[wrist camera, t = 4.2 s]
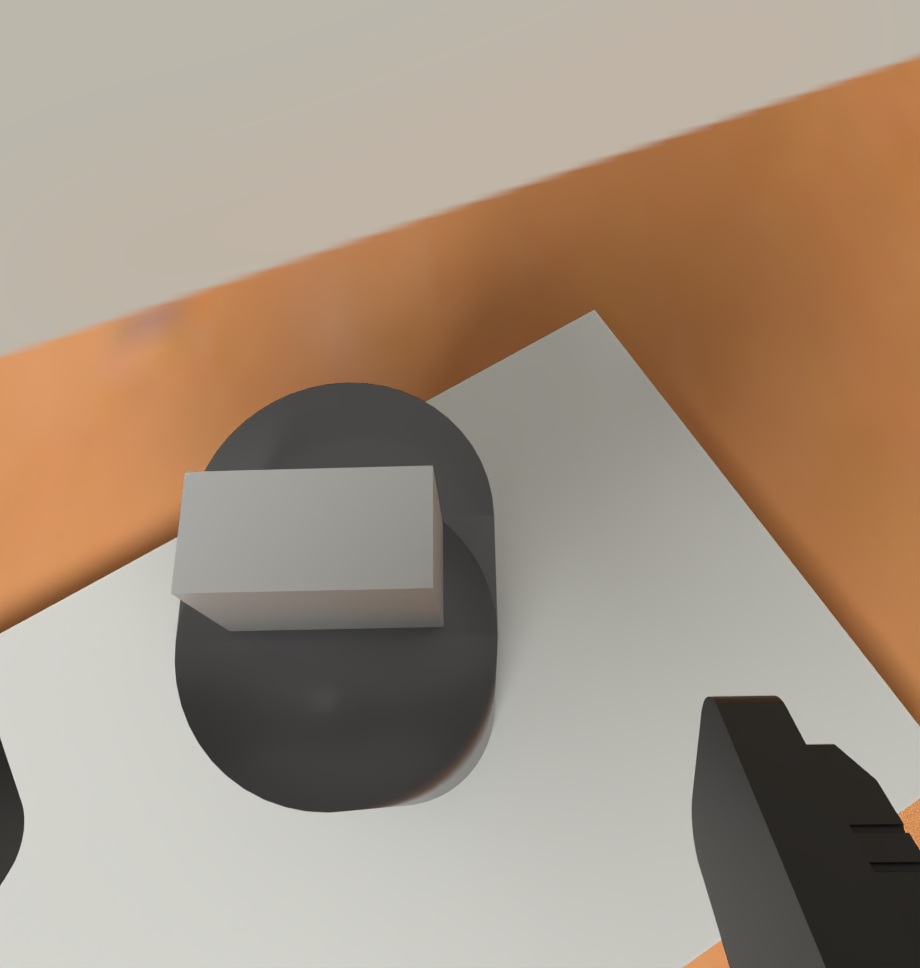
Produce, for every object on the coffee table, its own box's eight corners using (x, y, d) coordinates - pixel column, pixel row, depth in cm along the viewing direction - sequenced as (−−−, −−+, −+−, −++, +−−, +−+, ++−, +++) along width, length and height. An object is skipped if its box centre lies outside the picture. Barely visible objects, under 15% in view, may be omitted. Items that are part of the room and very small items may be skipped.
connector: (497, 803, 15) (506, 813, 7) (307, 806, 15) (73, 819, 7) (489, 549, 17) (490, 294, 8) (320, 553, 17) (148, 306, 9)
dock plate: (94, 1362, 14) (58, 1413, 12) (-110, 721, 17) (-151, 715, 16) (924, 774, 16) (955, 772, 15) (588, 336, 20) (594, 309, 19)
